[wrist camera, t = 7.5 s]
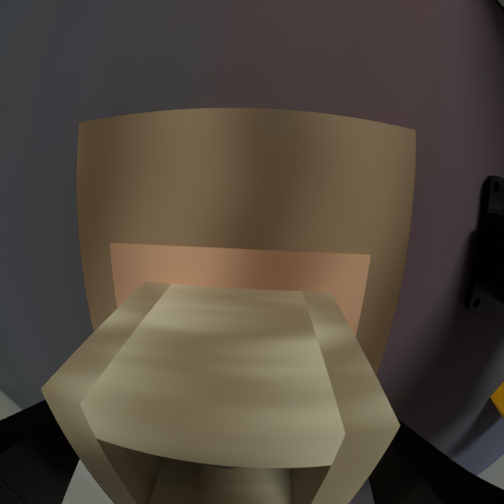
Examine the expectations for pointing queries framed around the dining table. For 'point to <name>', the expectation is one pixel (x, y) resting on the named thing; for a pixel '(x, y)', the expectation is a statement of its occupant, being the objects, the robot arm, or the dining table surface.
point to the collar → (223, 399)
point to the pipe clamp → (499, 399)
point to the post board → (248, 208)
